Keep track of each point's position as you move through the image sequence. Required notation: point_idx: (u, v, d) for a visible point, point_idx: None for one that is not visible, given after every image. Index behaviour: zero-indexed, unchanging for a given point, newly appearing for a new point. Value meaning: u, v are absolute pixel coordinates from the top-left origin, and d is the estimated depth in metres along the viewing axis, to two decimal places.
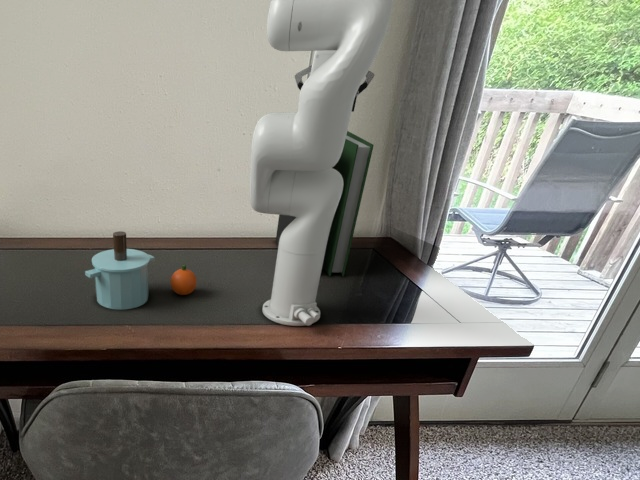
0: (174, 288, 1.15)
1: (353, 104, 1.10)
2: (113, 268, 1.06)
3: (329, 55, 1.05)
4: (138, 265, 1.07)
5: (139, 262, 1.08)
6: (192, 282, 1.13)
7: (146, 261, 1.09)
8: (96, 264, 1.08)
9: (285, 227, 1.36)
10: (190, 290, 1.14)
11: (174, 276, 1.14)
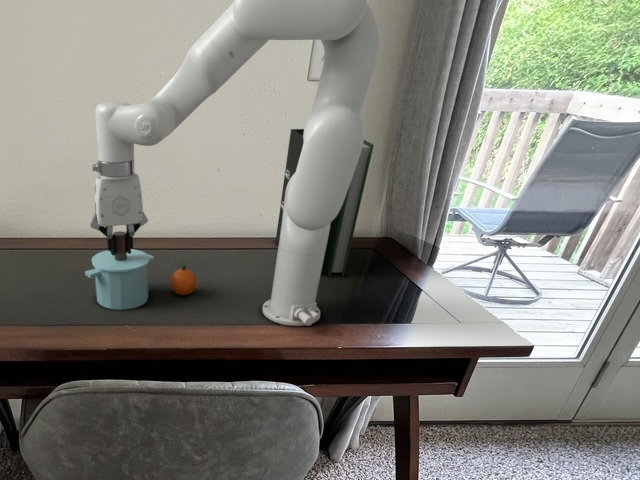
0: (174, 288, 1.15)
1: (131, 243, 1.08)
2: (113, 268, 1.06)
3: (113, 197, 1.00)
4: (138, 265, 1.07)
5: (139, 262, 1.08)
6: (192, 282, 1.13)
7: (146, 261, 1.09)
8: (96, 264, 1.08)
9: None
10: (190, 290, 1.14)
11: (174, 276, 1.14)
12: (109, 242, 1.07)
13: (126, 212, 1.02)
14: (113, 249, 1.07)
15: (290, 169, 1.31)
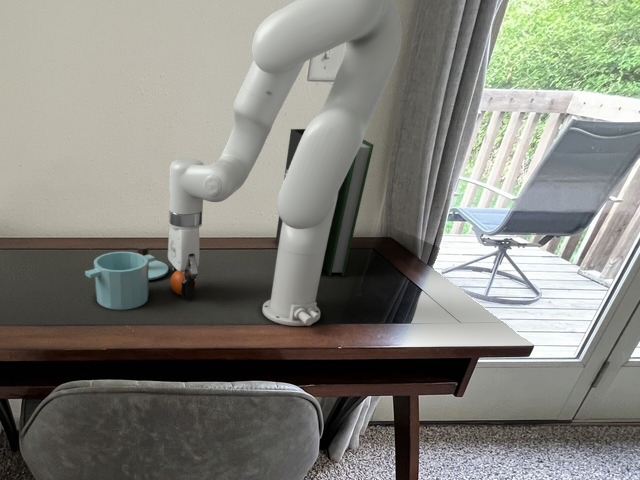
0: (174, 288, 1.15)
1: (185, 289, 1.12)
2: None
3: (171, 239, 1.11)
4: (159, 274, 1.25)
5: (159, 271, 1.26)
6: None
7: (165, 270, 1.27)
8: None
9: None
10: None
11: (174, 276, 1.14)
12: None
13: (174, 257, 1.10)
14: None
15: None
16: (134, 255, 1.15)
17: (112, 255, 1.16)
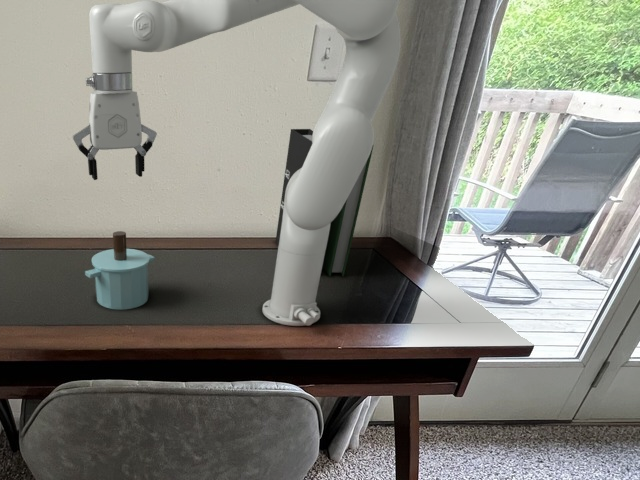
0: None
1: (142, 164, 1.00)
2: (113, 268, 1.06)
3: (109, 115, 0.92)
4: (138, 265, 1.07)
5: (139, 262, 1.08)
6: None
7: (146, 261, 1.09)
8: (96, 264, 1.08)
9: None
10: None
11: None
12: (90, 164, 0.97)
13: (123, 133, 0.94)
14: (95, 172, 0.98)
15: (290, 169, 1.31)
16: None
17: None
